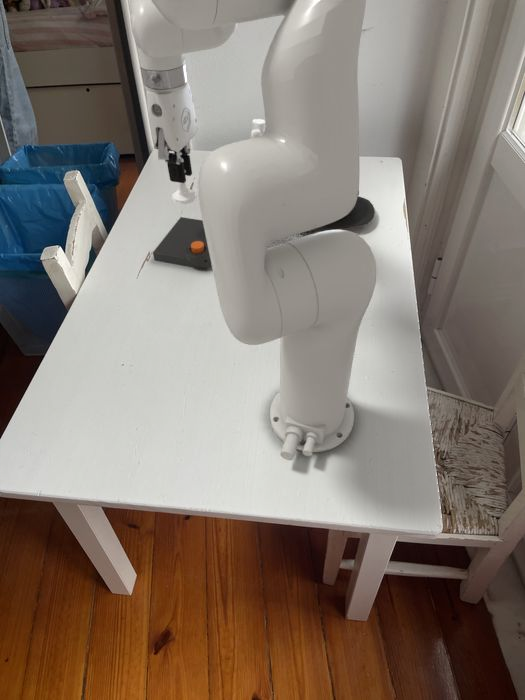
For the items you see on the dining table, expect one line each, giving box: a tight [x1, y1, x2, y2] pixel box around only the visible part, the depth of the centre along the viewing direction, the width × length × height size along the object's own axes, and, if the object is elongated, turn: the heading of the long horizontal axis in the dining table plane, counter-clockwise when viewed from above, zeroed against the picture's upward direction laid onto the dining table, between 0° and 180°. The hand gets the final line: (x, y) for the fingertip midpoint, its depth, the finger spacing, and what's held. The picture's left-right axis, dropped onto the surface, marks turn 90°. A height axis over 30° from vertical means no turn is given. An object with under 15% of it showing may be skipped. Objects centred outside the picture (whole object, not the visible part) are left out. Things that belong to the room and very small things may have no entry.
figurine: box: [250, 118, 265, 139], centre depth 118 cm, size 7×9×15 cm
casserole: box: [309, 190, 376, 232], centre depth 108 cm, size 25×19×8 cm
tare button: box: [191, 241, 204, 254], centre depth 98 cm, size 3×3×1 cm
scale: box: [152, 216, 212, 271], centre depth 103 cm, size 15×12×4 cm
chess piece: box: [171, 152, 198, 205], centre depth 95 cm, size 5×5×10 cm
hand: (181, 177), depth 95 cm, fingers closed on chess piece
